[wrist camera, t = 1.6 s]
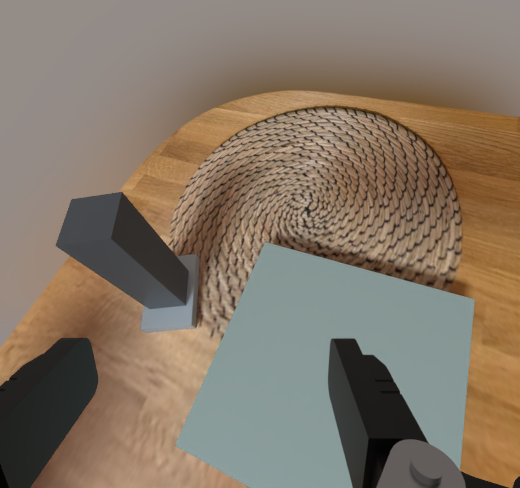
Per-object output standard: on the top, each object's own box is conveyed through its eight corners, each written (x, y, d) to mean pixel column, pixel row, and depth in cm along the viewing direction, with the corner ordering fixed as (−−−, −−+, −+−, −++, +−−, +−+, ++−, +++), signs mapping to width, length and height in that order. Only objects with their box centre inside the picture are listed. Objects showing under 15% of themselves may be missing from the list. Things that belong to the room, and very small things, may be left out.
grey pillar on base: (195, 328, 35) (114, 265, 21) (146, 332, 35) (35, 275, 21) (200, 259, 39) (136, 169, 25) (156, 264, 40) (70, 179, 26)
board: (268, 251, 38) (265, 242, 36) (463, 307, 31) (474, 299, 29) (185, 443, 29) (175, 445, 27) (436, 582, 22) (448, 599, 20)
